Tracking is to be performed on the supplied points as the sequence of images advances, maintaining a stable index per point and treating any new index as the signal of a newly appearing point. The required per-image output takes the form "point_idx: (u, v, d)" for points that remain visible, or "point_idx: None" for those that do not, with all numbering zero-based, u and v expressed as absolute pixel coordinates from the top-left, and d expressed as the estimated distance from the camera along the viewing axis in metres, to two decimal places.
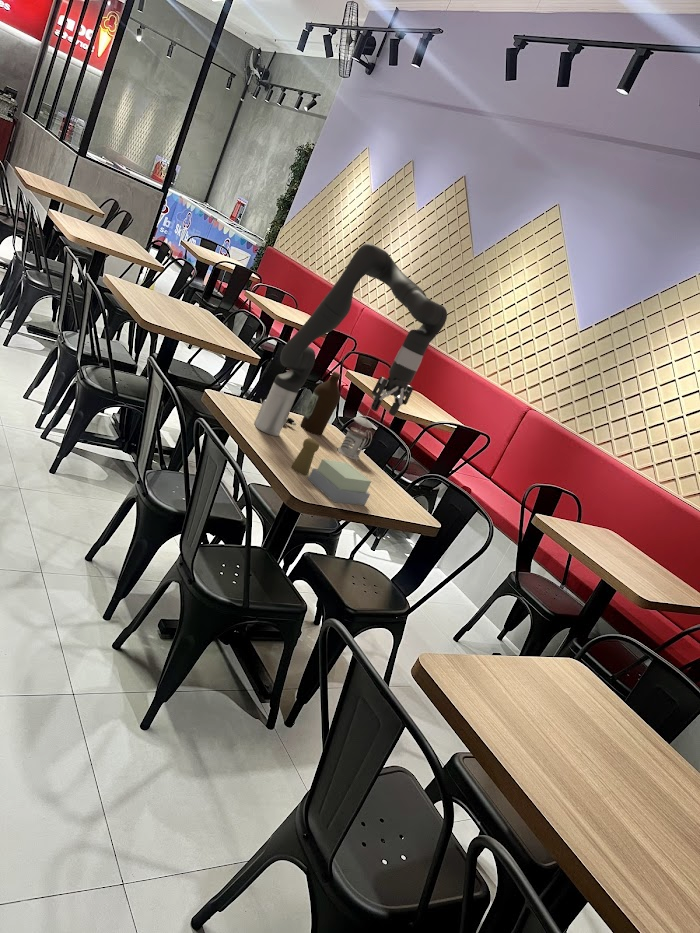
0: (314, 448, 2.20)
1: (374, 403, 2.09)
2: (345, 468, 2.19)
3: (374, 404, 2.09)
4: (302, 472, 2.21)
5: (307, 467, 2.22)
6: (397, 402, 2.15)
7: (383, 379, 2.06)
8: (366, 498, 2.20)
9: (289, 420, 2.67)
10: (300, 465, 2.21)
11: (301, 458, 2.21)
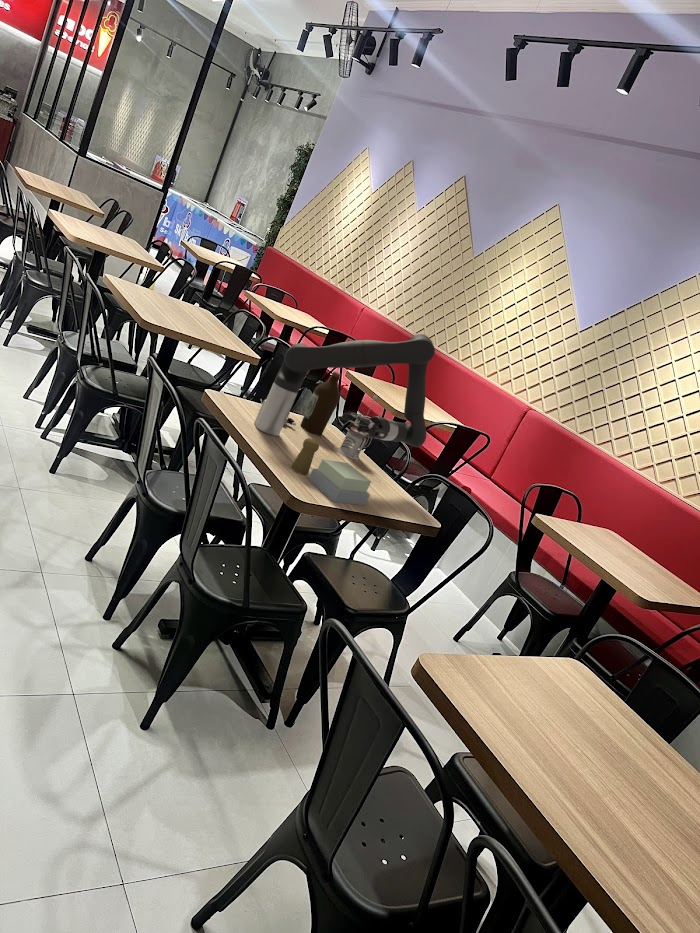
0: (314, 448, 2.20)
1: (364, 429, 2.26)
2: (345, 468, 2.19)
3: (363, 430, 2.26)
4: (302, 472, 2.21)
5: (307, 467, 2.22)
6: (351, 418, 2.33)
7: (382, 436, 2.31)
8: (366, 498, 2.20)
9: (289, 420, 2.67)
10: (300, 465, 2.21)
11: (301, 458, 2.21)
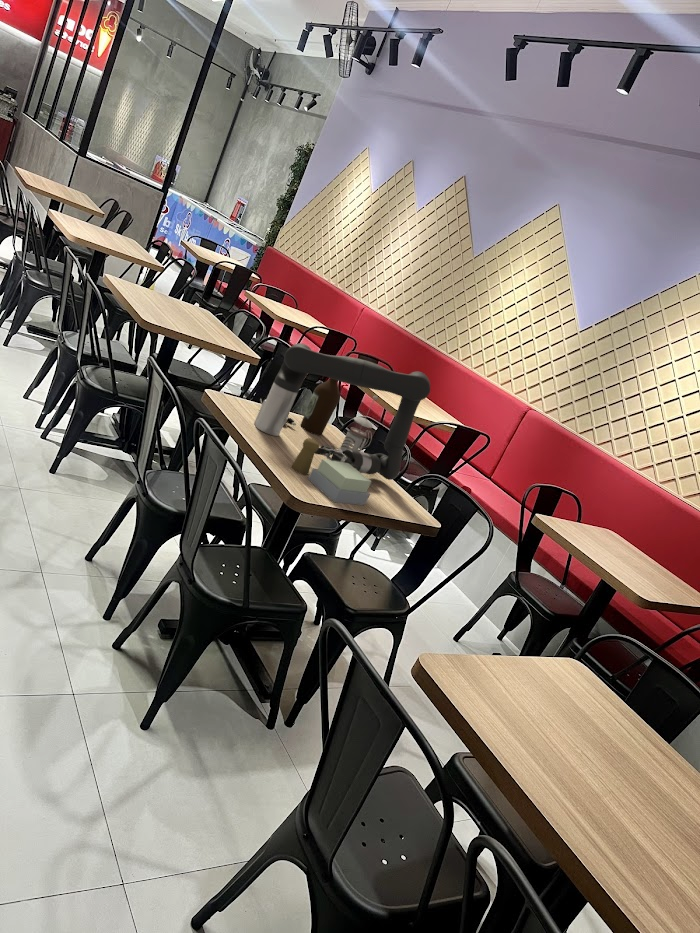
0: (314, 448, 2.20)
1: None
2: (345, 468, 2.19)
3: None
4: (302, 472, 2.21)
5: (307, 467, 2.22)
6: (324, 452, 2.34)
7: None
8: (366, 498, 2.20)
9: (289, 420, 2.67)
10: (300, 465, 2.21)
11: (301, 458, 2.21)
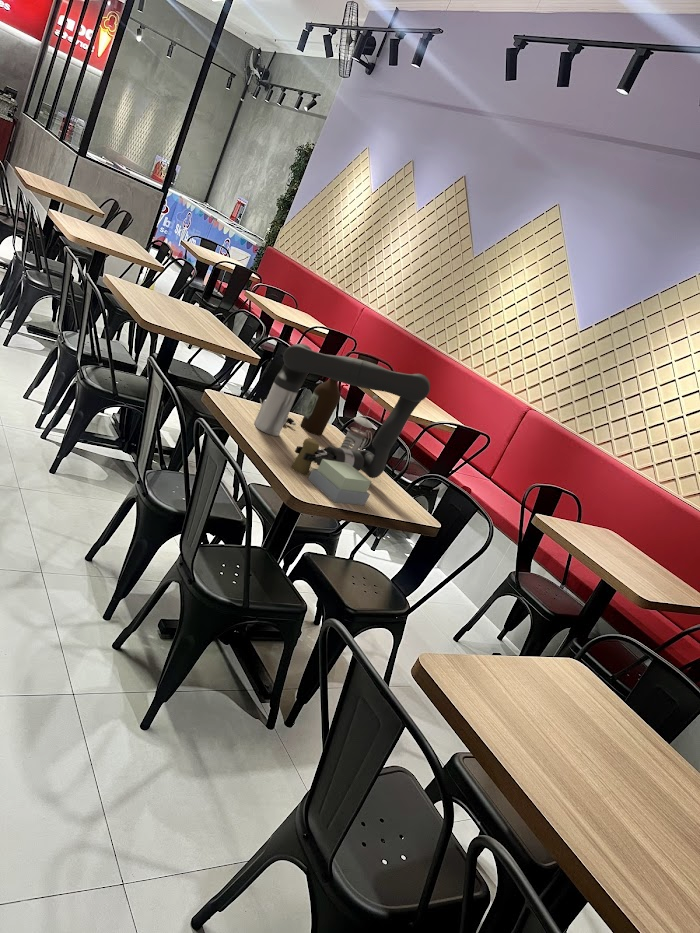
0: (314, 448, 2.20)
1: (311, 458, 2.20)
2: (345, 468, 2.19)
3: (310, 458, 2.20)
4: (302, 472, 2.21)
5: (307, 467, 2.22)
6: None
7: None
8: (366, 498, 2.20)
9: (289, 420, 2.67)
10: (300, 464, 2.21)
11: (301, 458, 2.21)
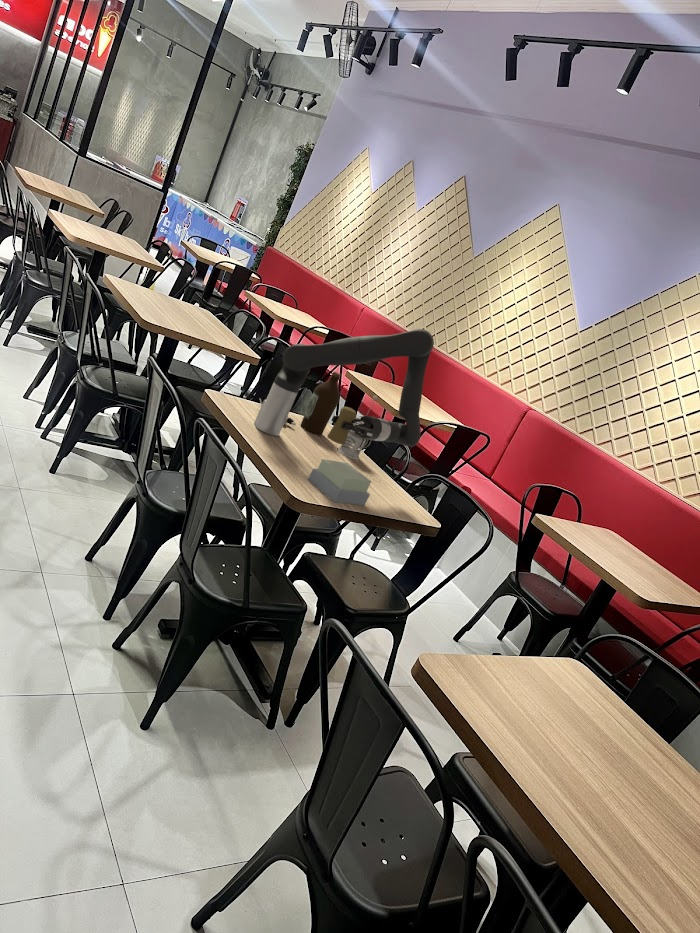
0: (351, 416, 2.14)
1: (348, 427, 2.14)
2: (345, 468, 2.19)
3: (347, 427, 2.14)
4: (339, 441, 2.16)
5: (344, 436, 2.16)
6: None
7: (370, 436, 2.18)
8: (366, 498, 2.20)
9: (288, 420, 2.67)
10: (337, 434, 2.15)
11: (338, 427, 2.15)
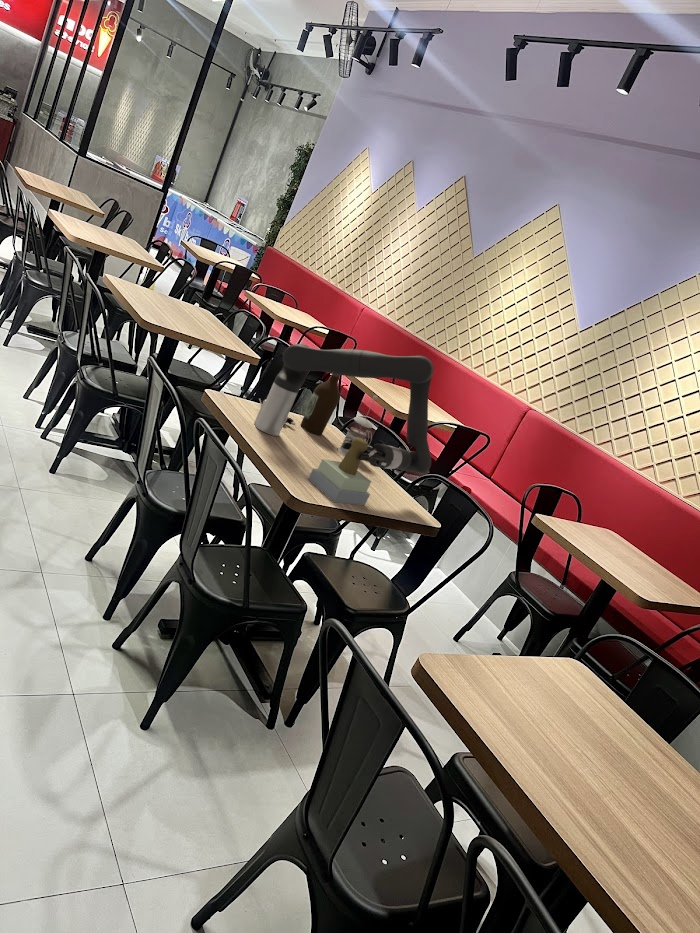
0: (363, 447, 2.14)
1: (364, 458, 2.13)
2: None
3: (363, 458, 2.13)
4: (350, 472, 2.16)
5: (355, 467, 2.16)
6: None
7: (384, 465, 2.18)
8: (366, 498, 2.20)
9: (288, 420, 2.67)
10: (348, 464, 2.15)
11: (350, 458, 2.15)
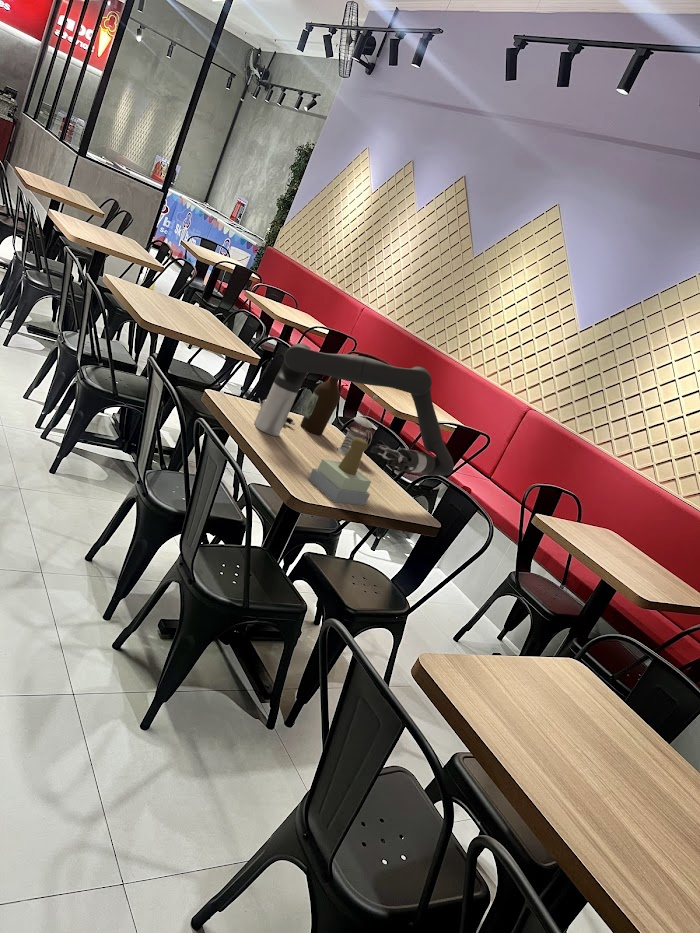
0: (363, 447, 2.14)
1: (394, 463, 2.23)
2: None
3: (393, 464, 2.23)
4: (350, 472, 2.16)
5: (355, 467, 2.16)
6: (380, 451, 2.31)
7: (412, 469, 2.28)
8: (366, 498, 2.20)
9: (288, 420, 2.67)
10: (348, 464, 2.15)
11: (349, 458, 2.15)
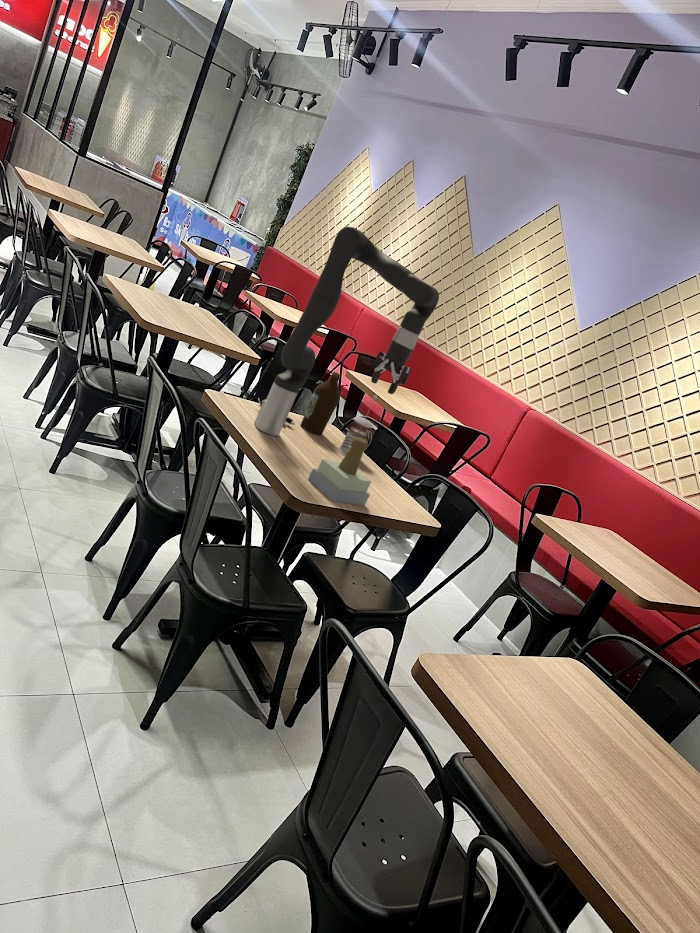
0: (363, 447, 2.14)
1: (394, 389, 2.27)
2: None
3: (394, 389, 2.27)
4: (350, 472, 2.16)
5: (355, 467, 2.16)
6: (379, 371, 2.32)
7: (409, 369, 2.24)
8: (366, 498, 2.20)
9: (288, 419, 2.67)
10: (348, 464, 2.15)
11: (349, 458, 2.15)
